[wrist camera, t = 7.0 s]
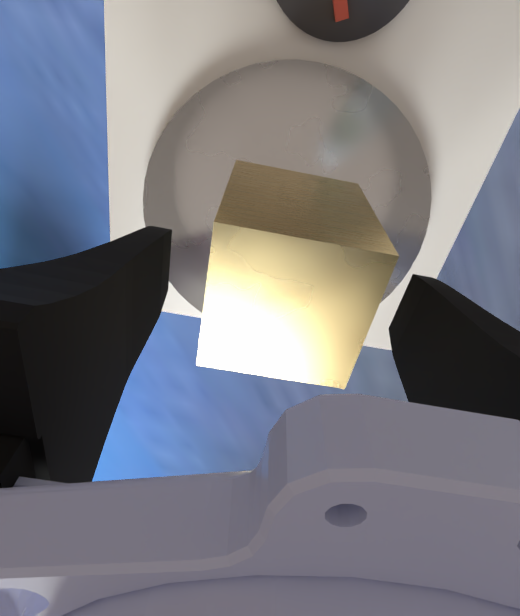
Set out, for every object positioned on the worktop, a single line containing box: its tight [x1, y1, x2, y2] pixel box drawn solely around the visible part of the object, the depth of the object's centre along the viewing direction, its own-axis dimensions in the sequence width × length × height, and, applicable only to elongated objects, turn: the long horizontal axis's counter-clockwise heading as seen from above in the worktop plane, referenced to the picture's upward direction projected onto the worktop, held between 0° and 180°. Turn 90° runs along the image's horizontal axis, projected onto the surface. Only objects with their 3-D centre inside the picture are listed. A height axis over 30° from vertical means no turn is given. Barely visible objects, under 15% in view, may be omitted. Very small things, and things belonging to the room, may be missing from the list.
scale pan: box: [143, 59, 431, 313], centre depth 16 cm, size 11×11×1 cm
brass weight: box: [196, 160, 399, 389], centre depth 13 cm, size 4×4×6 cm
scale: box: [104, 0, 520, 350], centre depth 15 cm, size 14×17×2 cm
